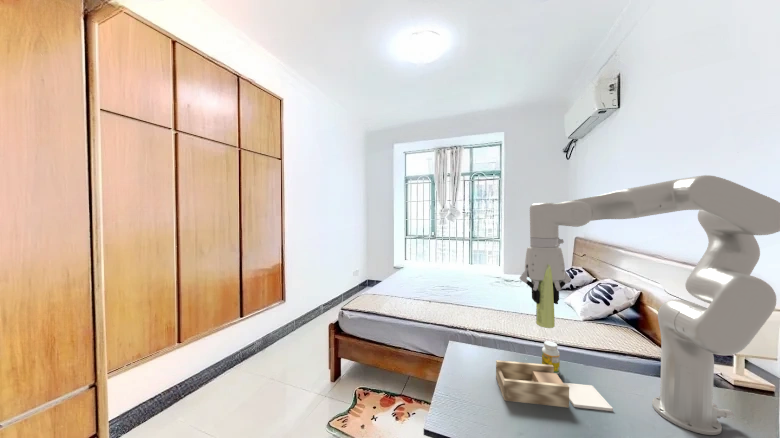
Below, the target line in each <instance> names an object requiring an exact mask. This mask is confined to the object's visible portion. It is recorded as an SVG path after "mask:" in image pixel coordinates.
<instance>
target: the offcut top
mask: <svg viewBox="0 0 780 438" xmlns="http://www.w3.org/2000/svg"><path fill="white" fill-rule="evenodd" d="M532 379H533V380H534V382H544V383H554V384H563V383H564V382H563V380H562V379H561V378H560V377H559V374H556V373H548V372H539V371H532Z"/></svg>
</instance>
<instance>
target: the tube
mask: <svg viewBox="0 0 780 438" xmlns="http://www.w3.org/2000/svg"><path fill="white" fill-rule="evenodd" d="M538 291H539V293H540V303H539V304H537V303H536V302H535V305H536V308H535V310H536V311H535V312H536V313H535V322H536V325H538V327H541V328H544V329H554V328H555V327H556V326H555V322H556V321H555V303H554V296H553V282H552V271H551V265H549V264H548V268H547V269H546V272H545V276H544V280H543V281H539V285H538Z"/></svg>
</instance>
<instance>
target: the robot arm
mask: <svg viewBox="0 0 780 438" xmlns="http://www.w3.org/2000/svg"><path fill="white" fill-rule="evenodd" d="M692 210H693V211H698V212H697V220H698V222H699V225H700V226H701V227H702V228H703V230H704V232H705V233H706V235H707V239H708V245H707V248H706V249H705V252H704V254H703V255H702V257H701V258H700V260H699V261H698V262H697V263H696V266H695V267H694V268H693V270H692V271H691V272H690V274H689V276H688V277H687V279H686V282H685V289H686V291H687V293H689V295H690V296H692V297H694V298H695V299H697V300H700V301H702V302H704V303H707V304H709V305H708V307H704V306H702V305H700V304H697V303H695V302H691V301H689V300H685V299H670V300H668V301H667V300H666V301H665V302H663V304H661V305H660V307H659V308H658V311H657V321H658V326H659V331H660V338H661V339H660V341H661V351H660V352H661V353H660V380H659V381H660V384H659V386H660V387H659V388H660V389H659V396H656V397H654V398H652V403H651V404H652V407H653V409H654V411H656V412H657V414H658V415H660V416H662V418H664V419H666V420H667V421H669V422H670V423H672V424H675V425H676V426H678V427H680V428H682V429H685V430H687V431H690V432H693V433H696V434H701V435H705V436H717V435H720V434H721V433H722V428H723V427H722V424H721V422H720V421H719V420H718V419H721V418H723V419H724V418H727V419H735V414H734V412H733V411H732V410H731V409H725V408H719V407H718V405H717V404H716V403H714V402H713V401H714V374H715V372H714V371H715V357H714V355H718V356H733V355H735V354H738V353H741V352H742V351H743V350H744V349H746V348H747V347H748V345H750V343H751V342H752V341H753V339H754V338H755V337H756V335H758V333H759V332H760V330H761V329H762V328H763V326H764V325H765V324H766V322H767V321H768V320H769V318H770V317H771V315H772V313H774V311H775V309H776V305H777V295H776V292H775V290H774V288H773V287H772V286H771V285H770V284H769V283H767V282H766V281H765V280H763V279H761V278H758V277H756V276H753V275H751V274H752V272H753V271H754V270H755V267H756V266H757V264H758V262H759V260H760V256H761V249H760V248H761V247H760V246H759V242H758V241H757V239H756V236H768V235H769V236H770V235H773V234H776V233H779V232H780V201H778V200H775V199H774V198H772V197H769V196H767V195H765V194H763V193H761V192H758V191H756V190H753V189H751V188H748V187H746V186H744V185H741V184H739V183H736V182H734V181H731V180H729V179H726V178H724V177H720V176H715V175H707V174H705V175H698V176H692V177H684V178H677V179H672V180H667V181H661V182H655V183H652V184H646V185H640V186H635V187H631V188H624V189H620V190H615V191H612V192H608V193H603V194H599V195H593V196H588V197H584V198H578V199H573V200H568V201H567V200H566V201H562V202H558V203H556V202H555V203H554V202H538V203H537V202H535V203H532V204H530V207H529V238H530V239H529V240H530V241H529V243H530V246H528V247H527V248H526V252H525V261H524V271H523V272H522V274H521V275H520V276H519V280H521V282H524V283H525V284H526V285H527V286H529V288H530V289H531V299H532V300H533V301H534V303H535V304H536V303H537V304H539V303H540V293H539V291H538V285H539V281H543V280H544V276H545V272H546V269H547V268H548V264H549V265H551V271H552V282H553V296H554V305H558V304H559V300H560V291H561V290H562V288H563V287H564V286H565V285H566V284H568V283H570V282H571V281H572V278H571V276H570V275H569V274H568V273H567V272H566V266H565V259H564V255H563V250H562V248H561V247H560V245H561V244H562V245H564V243H565V241H564V239H562V238H560V237H559V236H560V235H559V233H560V232H559V226H564V227H571V228H572V227H575V228H577V227H582V226H586V225H587V224H590V222H591V221H601V220H602V221H603V220H630V219H638V218H639V219H640V218H642V217H643V218H644V217H650V216H654V215H655V216H656V215H661V214H669V213H675V212H682V211H692ZM528 278H529V279H528Z"/></svg>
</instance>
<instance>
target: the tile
mask: <svg viewBox="0 0 780 438" xmlns="http://www.w3.org/2000/svg"><path fill="white" fill-rule="evenodd" d="M563 384H564V385H568V386H569V403H570V404H571V405H572V406H573V408H580V409H590V410H599V411H607V412H614V407H612V405H610V404H609V402H608V401H607V400H606V399H605V398H604V397H603V396H602V395H601V393H600V392H599V391H598V390H597V389H596V388H595V386H594V385H591V384H581V383H569V382H563Z"/></svg>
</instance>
